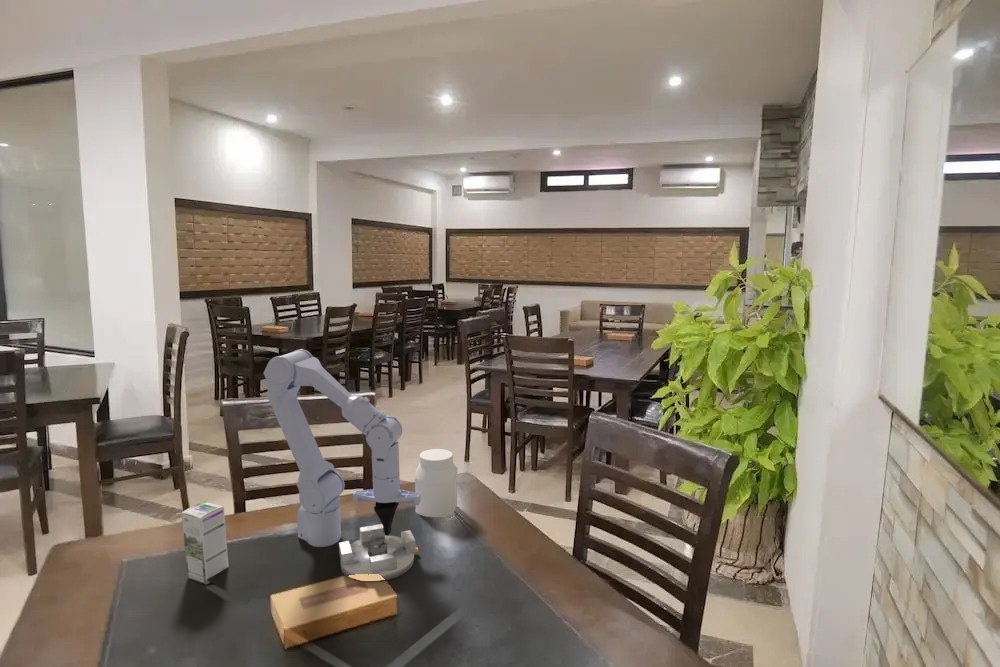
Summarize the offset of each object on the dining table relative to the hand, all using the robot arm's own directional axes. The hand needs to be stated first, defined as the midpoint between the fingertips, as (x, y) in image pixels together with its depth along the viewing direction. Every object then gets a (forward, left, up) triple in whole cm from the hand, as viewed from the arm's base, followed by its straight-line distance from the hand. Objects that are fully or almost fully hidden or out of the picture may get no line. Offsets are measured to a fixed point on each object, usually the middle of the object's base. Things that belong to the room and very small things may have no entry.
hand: (388, 533), depth 129 cm
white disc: (+3, -6, -3) cm, 7 cm away
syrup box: (-23, -28, -5) cm, 37 cm away
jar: (-4, +21, -5) cm, 22 cm away
